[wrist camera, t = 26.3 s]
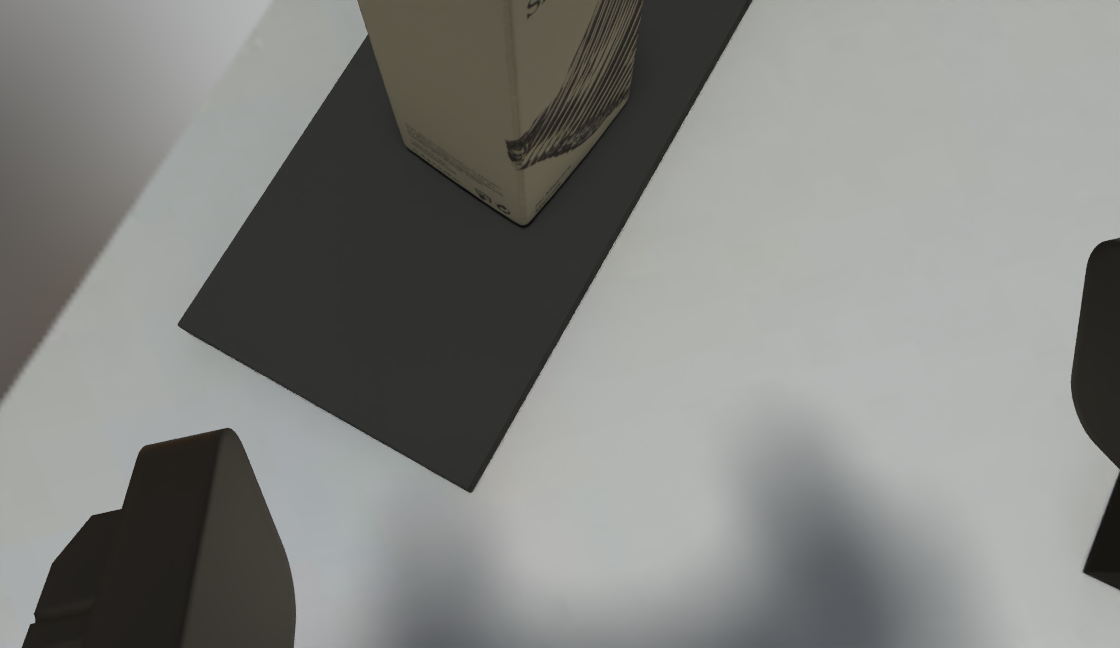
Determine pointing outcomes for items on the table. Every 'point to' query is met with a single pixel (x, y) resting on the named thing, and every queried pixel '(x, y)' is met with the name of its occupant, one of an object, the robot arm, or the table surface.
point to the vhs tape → (1108, 546)
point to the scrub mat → (436, 258)
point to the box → (504, 87)
